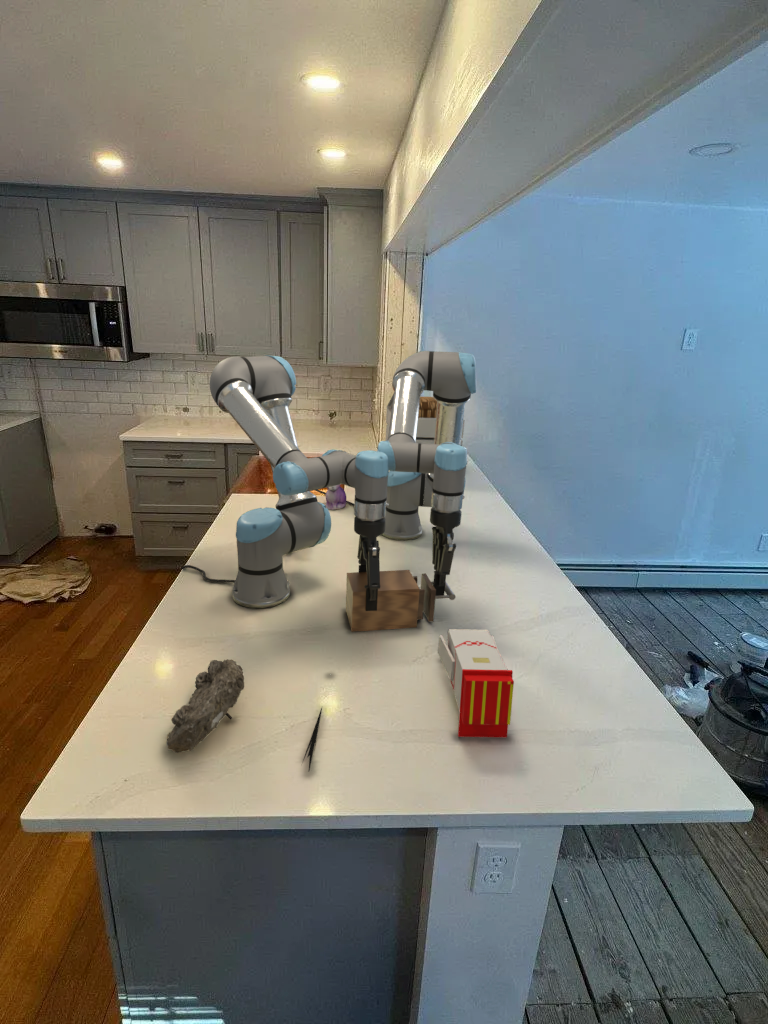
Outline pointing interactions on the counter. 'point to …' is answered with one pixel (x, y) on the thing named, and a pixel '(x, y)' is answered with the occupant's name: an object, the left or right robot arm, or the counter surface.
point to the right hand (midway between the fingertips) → (438, 594)
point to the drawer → (430, 597)
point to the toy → (478, 682)
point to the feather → (313, 740)
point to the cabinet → (383, 601)
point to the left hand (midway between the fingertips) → (367, 598)
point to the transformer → (422, 420)
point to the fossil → (206, 705)
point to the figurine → (335, 497)
